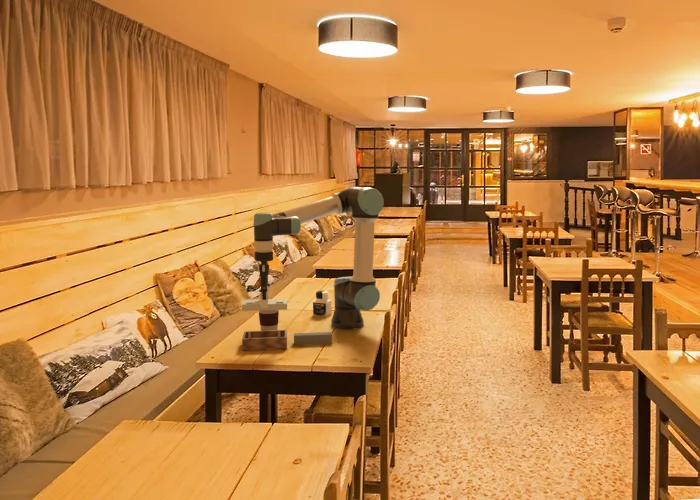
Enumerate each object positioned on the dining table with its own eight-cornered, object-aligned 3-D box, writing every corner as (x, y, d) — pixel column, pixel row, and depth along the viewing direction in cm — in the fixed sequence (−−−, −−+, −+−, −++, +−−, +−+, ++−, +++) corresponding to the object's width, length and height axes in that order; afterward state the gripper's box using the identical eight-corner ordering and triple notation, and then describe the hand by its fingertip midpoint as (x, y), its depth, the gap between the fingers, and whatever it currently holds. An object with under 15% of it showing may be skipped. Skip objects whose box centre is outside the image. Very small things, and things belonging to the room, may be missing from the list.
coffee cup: (276, 336, 283) (275, 303, 281) (255, 335, 285) (253, 302, 283) (283, 330, 292) (282, 298, 290) (262, 329, 294) (261, 297, 292)
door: (287, 304, 269) (286, 296, 269) (287, 309, 259) (286, 301, 259) (243, 305, 267) (243, 297, 267) (242, 310, 258) (241, 302, 257)
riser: (331, 341, 274) (331, 331, 274) (332, 343, 270) (332, 334, 270) (294, 342, 273) (293, 333, 272) (294, 345, 269) (293, 335, 268)
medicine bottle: (313, 315, 320) (312, 292, 319) (319, 312, 327) (318, 289, 325) (326, 316, 317) (325, 293, 316) (331, 313, 324) (331, 290, 322)
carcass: (287, 341, 275) (286, 323, 274) (286, 349, 263) (286, 330, 262) (244, 342, 273) (243, 324, 272) (242, 351, 261) (241, 332, 260)
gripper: (255, 247, 271) (257, 299, 274) (252, 254, 249) (254, 311, 252) (273, 247, 272) (274, 298, 275) (272, 254, 249) (273, 310, 252)
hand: (265, 304), depth 263 cm, fingers closed on door, 10 cm apart
